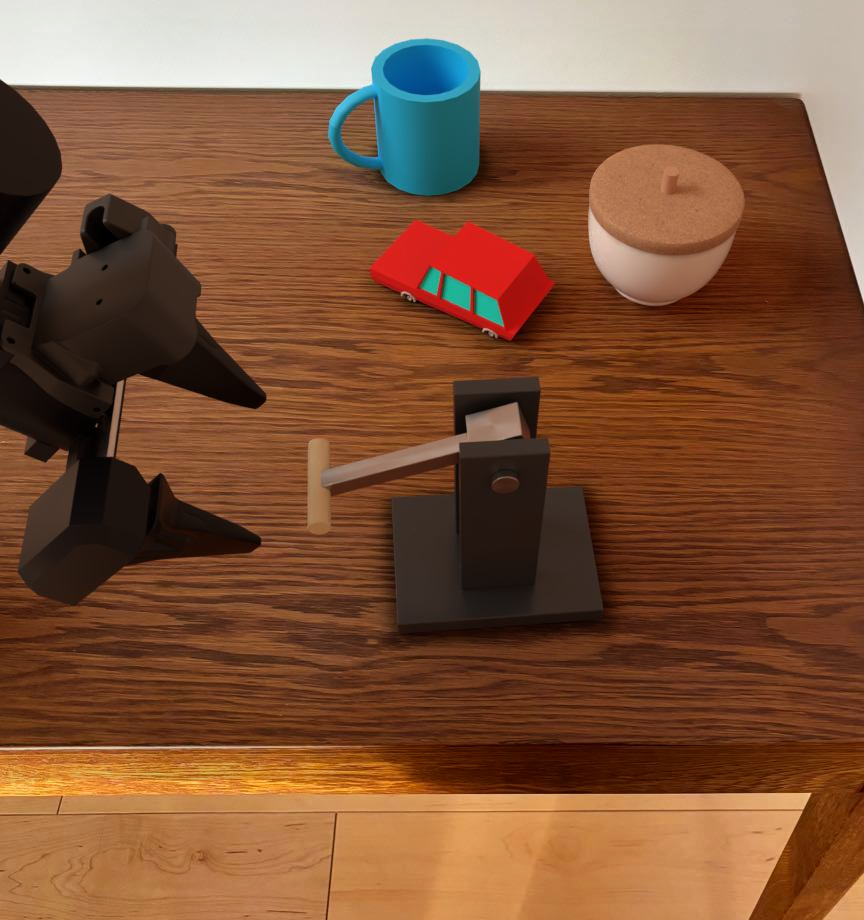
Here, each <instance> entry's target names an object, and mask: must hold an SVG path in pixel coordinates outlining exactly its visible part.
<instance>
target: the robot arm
mask: <svg viewBox="0 0 864 920" xmlns="http://www.w3.org/2000/svg"><path fill="white" fill-rule="evenodd" d="M62 173H63V160H62V152H61V150H60V147H59V144H58V141H57V139H56V137H55V135H54V134H53V132H52V131H51V129H50V127H49V125H48V124H47V122H46V120H45V119H44V118H43V117H42V116H41V115H40V113H39V112H38V111H37V110H36V108H35V107H34V106H33V105H32V104H31V103H30V102H29V101H28V100H27V99H26V98H25V97H23V95H22V94H21V93H19V91H17V90H16V89H14V88H13V87H12V86H11V85H10V84H8V83H7V82H5V81H3V80H2V79H1V78H0V256H1V255H2V254H3V252H4V251H5V250H6V249H7V248H8V246H9V245H10V244H11V242H12V241H13V239H14V238H15V237H16V236H17V234H18V233H19V232H20V231H21V229H22V228H23V227H24V226H25V224H27V222H28V220H29V219H30V218H31V217H32V215H33V214H34V213H35V211H36V210H37V209H38V208H39V206H40V205H41V204H42V203H43V201H44V200H45V199H46V197H47V196H48V195H49V193H50V192H51V191H52V189H53V188H54V187H55V186H56V184H57V183H58V181H59V179H60V178H61V176H62ZM79 236H80V240H81V242H82V245H83V249H84V250H83V249H81V248H77V249H76V250H74V251H73V252H72V257H71V261H70V265H69V267H67V268H66V269H63V270H62V271H60V272H59V273H57V274H52V273H48V272H44V271H42V270H39V269H38V268H36V267H34V266H32V265H30V264H29V263H25V262H20V263H15V262H13V261H12V260H10V259H7V261H6V262H5V263H4V265H3V266H2V267H1V269H0V426H1V427H3V428H6V429H8V430H11V431H13V432H16V433H17V434H21V435H23V436H26V440H25V445H24V451H23V455H25V456H27V457H30V458H32V459H35V460H37V461H40V462H43V463H44V464H46V463H47V462H48V461H49V460H50V459H51V458H52V457H53V456H55V454H56V453H57V452H58V451H59V450H62V451H64V452H68V453H67V458H66V459H67V460H66V465H65V471H64V473H63V474H62V475H61V476H60V477H59V478H58V479H56V480H55V482H53V483H52V484H51V485H50V486H49V487H48V488H47V489H46V490H45V491H44V492H43V493H42V494H41V495H40V496H38V498H37V499H35V501H33V502H32V503H31V504H30V505H29V507H28V513H27V519H26V524H25V529H24V534H23V539H22V545H21V550H20V555H19V561H18V565H17V571H16V573H17V574H18V576H19V577H20V578H21V580H22V581H23V582H24V584H25V586H27V588H28V589H30V591H32V592H33V593H34V594H36V596H39V597H42V598H45V599H49V600H51V601H55V602H58V603H62V604H65V605H69V606H71V607H76V606H77V605H78V604H80V603H81V602H82V601H84V600H85V599H86V598H87V597H89V596H90V595H91V594H92V593H93V592H95V591H96V590H97V589H98V588H100V587H101V586H102V585H103V584H104V583H106V582H107V581H108V580H110V579H111V578H112V577H114V576H115V575H116V574H117V573H118V572H119V571H121V570H122V569H123V568H125V567H128V566H133V565H139V564H143V563H151V562H156V561H163V560H174V559H188V558H202V557H203V558H204V557H215V556H228V555H229V556H230V555H243V554H244V555H245V554H250V553H252V552H254V551H256V550H257V549H258V548H259V547H261V546H262V537H261V536H259V535H257V534H256V533H254V532H253V531H251V530H249V529H248V528H246V527H244V526H242V525H241V524H238V523H236V522H233V521H231V520H228V519H226V518H224V517H221V516H219V515H216V514H214V513H211V512H209V511H208V510H205V509H203V508H200V507H197V506H195V505H193V504H190V503H188V502H186V501H183V500H181V499H178V498H177V497H176V496H175V494H174V492H173V490H172V488H171V486H170V485H169V482H168V480H167V478H166V476H165V475H164V473H161V472H159V473H158V474H157V475H156V476H155V477H153V478H152V479H151V480H150V481H149V482H147V481H146V480H145V478H144V477H143V475H142V474H141V472H140V471H139V469H138V468H137V466H136V465H133V464H131V463H129V462H126V461H124V460H121V459H119V458H117V451H118V444H119V437H120V430H121V422H122V415H123V408H124V402H125V401H124V400H125V392H126V387H127V386H126V385H127V379H129V378H131V377H135V376H137V375H139V376H142V377H145V378H149V379H151V380H156V381H158V382H161V383H164V384H168V385H170V386H173V387H176V388H179V389H183V390H185V391H189V392H192V393H195V394H198V395H201V396H204V397H207V398H210V399H213V400H216V401H219V402H223V403H226V404H230V405H233V406H238V407H242V408H247V409H252V410H258V409H259V408H261V407H262V406H263V405H264V404H265V403H266V402H267V399H268V396H267V393H266V392H265V391H264V390H263V389H262V387H261V386H260V385H259V384H258V383H257V382H256V381H255V380H254V379H253V378H252V377H251V376H250V375H249V374H248V373H247V372H246V371H245V370H244V369H243V368H242V367H241V366H240V365H239V363H237V362H236V360H235V359H234V358H233V357H232V356H231V355H230V353H228V352H227V351H226V350H225V349H224V348H223V347H222V346H221V344H219V342H217V340H216V339H215V338H214V337H213V336H212V335H211V334H210V332H209V331H208V330H207V329H206V328H205V326H204V325H203V324H202V323H201V321H200V320H199V319H198V318H197V306H198V298H200V297H201V296H202V284H201V282H200V281H199V279H197V278H196V276H194V274H193V273H192V272H191V271H190V270H189V269H188V268H187V267H186V266H185V265H184V264H183V263H182V262H181V261H180V259H179V258H177V255H178V243H177V231H176V229H175V228H174V227H173V226H172V225H170V224H168V223H160V222H159V221H158V219H156V218H155V217H154V216H153V214H151V213H150V212H148V211H147V210H145V209H144V208H141V207H139V206H137V205H135V204H133V203H131V202H128V201H127V200H124V199H122V198H120V197H118V196H117V195H114V194H113V193H107V194H105V195H103V196H101V197H98V198H97V199H95V200H92V201H90V202H88V203H87V204H86V205H85V206H84V208H83V212H82V219H81V223H80V229H79Z"/></svg>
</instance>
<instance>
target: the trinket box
mask: <svg viewBox="0 0 864 920" xmlns="http://www.w3.org/2000/svg"><path fill="white" fill-rule="evenodd" d="M745 204H746V199H745V193H744V191H743V188H742V185H741V184H740V182H739V180H738V179H737V178H736V176H735V175H734V174H733V173H732V171H731V170H730V169H729V168H728V167H726V166H725V165H724V164H722V163H721V161H718V160H716V159H715V158H714V157H712V156H710V155H708V154H705V153H703V152H700V151H698V150H695V149H693V148H689V147H685V146H679V145H672V144H662V143H661V144H660V143H658V144H657V143H655V144H654V143H653V144H643V145H642V144H641V145H637V146H633V147H628V148H625V149H623V150H620V151H617V152H616V153H614V154H612V155H611V156H609V157H608V158H607V159H605V160H604V161H603V162H602V163H601V164H600V165H598V167H597V168H596V170H595V171H594V173H593V175H592V176H591V180H590V185H589V191H588V216H587V227H588V229H587V230H588V231H587V232H588V242H589V249H590V251H591V255H592V259H593V260H594V263H595V265H596V267H597V270H598V271H599V272H600V273H601V275H602V276H603V277H604V279H605V280H606V281H607V282H608V283H609V284H610V285H611V286H612V287H613V288H614V289H615V290H616V291H617V293H619V294H620V295H621V296H622V297H623V298H626V299H627V300H628V301H631V302H634V303H636V304H639V305H644V306H648V307H649V306H651V307H658V306H659V307H661V306H666V305H671V304H674V303H676V302H679V301H680V300H681V299H684V298H686V297H689V296H691V295H693V294H695V293H696V292H698V291H699V290H700V289H702V288H704V286H706V285H707V284H708V283H709V282H710V281H711V280H712V279H713V278H714V277H715V275H716V274H717V273H718V272H719V270H720V269H721V268H722V265H723V264H724V262H725V261H726V259H727V257H728V255H729V252H730V251H731V248H732V245H733V242H734V240H735V236H736V234H737V231H738V228H739V226H740V225H741V222H742V218H743V216H744V211H745V206H746V205H745Z"/></svg>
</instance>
